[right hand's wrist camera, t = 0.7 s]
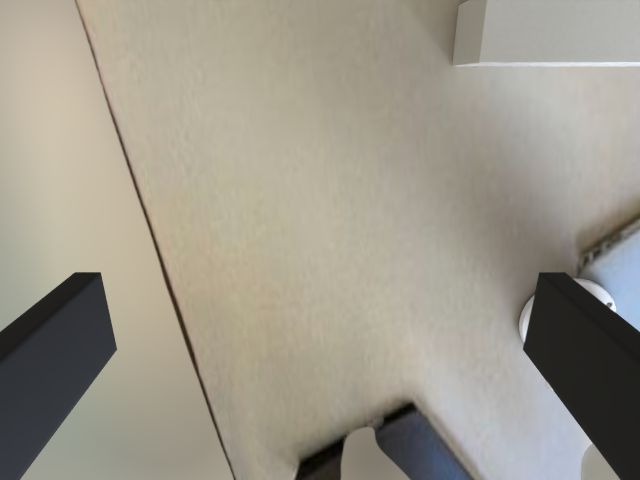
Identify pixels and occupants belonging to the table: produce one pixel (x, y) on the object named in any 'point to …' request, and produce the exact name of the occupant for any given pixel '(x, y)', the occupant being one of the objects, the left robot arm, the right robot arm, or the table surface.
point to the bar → (547, 33)
